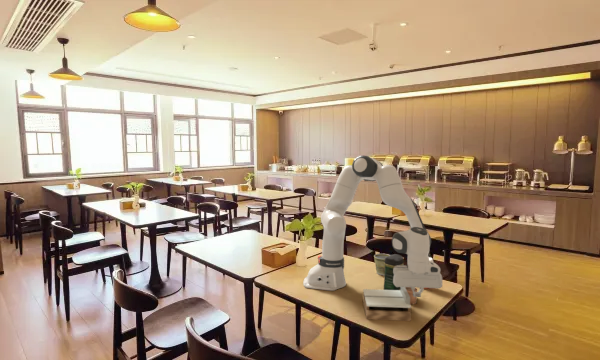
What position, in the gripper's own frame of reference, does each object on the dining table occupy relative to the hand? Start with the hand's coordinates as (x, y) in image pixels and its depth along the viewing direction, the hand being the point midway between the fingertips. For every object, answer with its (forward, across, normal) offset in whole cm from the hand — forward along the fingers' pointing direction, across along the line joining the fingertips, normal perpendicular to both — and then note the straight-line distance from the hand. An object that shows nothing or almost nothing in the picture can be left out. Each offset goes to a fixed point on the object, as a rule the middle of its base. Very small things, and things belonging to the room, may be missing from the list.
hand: (416, 296), depth 147 cm
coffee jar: (+7, -6, +20) cm, 22 cm away
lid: (+2, -13, 0) cm, 13 cm away
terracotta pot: (+7, 0, +10) cm, 12 cm away
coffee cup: (+7, +11, +28) cm, 31 cm away
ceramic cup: (+7, -6, +44) cm, 45 cm away
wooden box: (+7, -13, 0) cm, 15 cm away
